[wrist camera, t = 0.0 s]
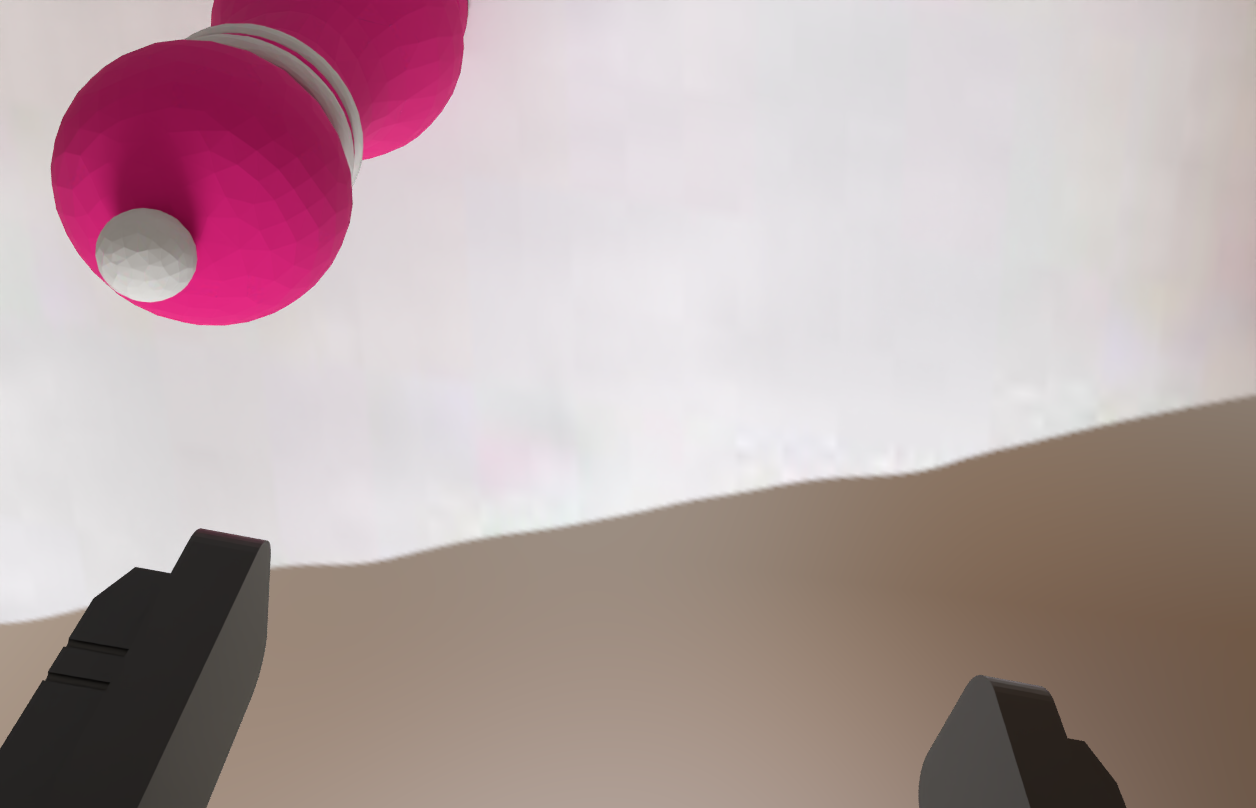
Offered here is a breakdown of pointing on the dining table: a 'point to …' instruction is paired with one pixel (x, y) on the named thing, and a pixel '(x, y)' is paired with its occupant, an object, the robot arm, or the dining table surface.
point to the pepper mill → (245, 147)
